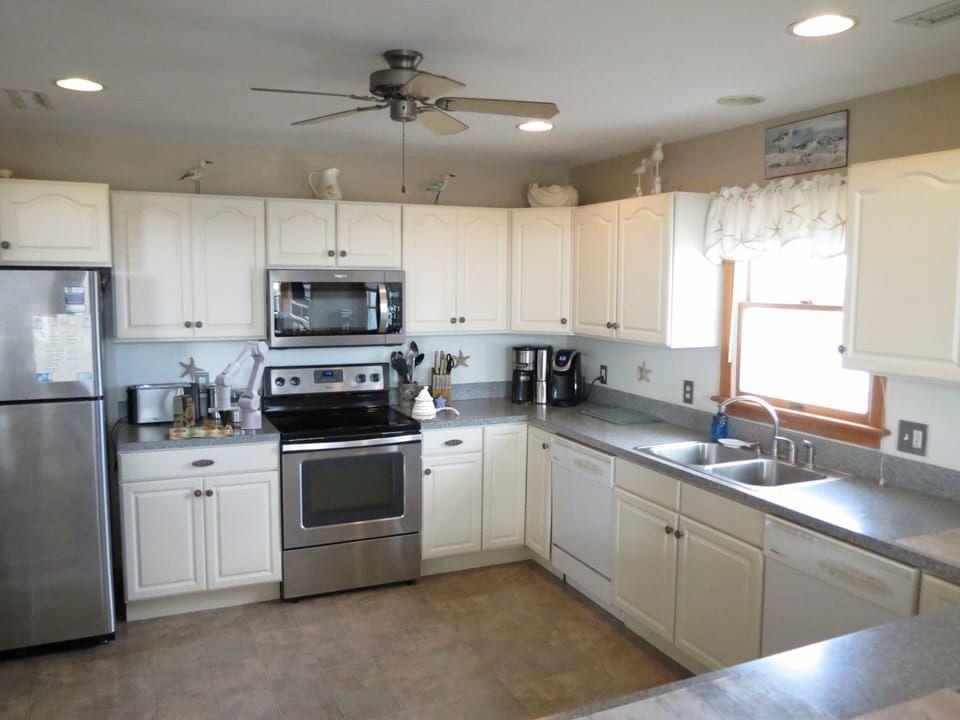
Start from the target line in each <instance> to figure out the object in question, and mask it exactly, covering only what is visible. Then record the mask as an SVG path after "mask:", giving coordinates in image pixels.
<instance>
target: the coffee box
mask: <svg viewBox="0 0 960 720" xmlns="http://www.w3.org/2000/svg"><path fill="white" fill-rule="evenodd" d="M172 401H173V402H172V404H173V405H172V410H173V413H172V416H173V428H187V427H190V426H192V427H194V426H193V425H195V426H196V423H195V421H196V420H195V394H179V395H175V396H172Z"/></svg>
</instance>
